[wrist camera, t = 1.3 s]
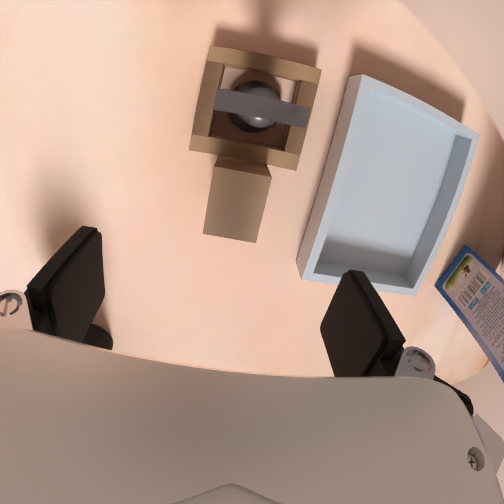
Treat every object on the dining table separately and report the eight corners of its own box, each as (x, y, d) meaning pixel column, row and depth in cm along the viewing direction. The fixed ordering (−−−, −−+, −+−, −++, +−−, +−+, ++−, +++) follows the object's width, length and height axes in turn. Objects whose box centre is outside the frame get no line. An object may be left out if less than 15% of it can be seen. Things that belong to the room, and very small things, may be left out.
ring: (315, 72, 19) (338, 63, 14) (278, 215, 25) (288, 248, 20) (213, 50, 18) (203, 33, 13) (185, 198, 24) (169, 227, 19)
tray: (459, 129, 21) (479, 135, 18) (403, 279, 29) (415, 296, 26) (348, 76, 19) (362, 74, 17) (295, 261, 27) (301, 279, 25)
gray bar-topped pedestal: (286, 88, 20) (317, 78, 11) (274, 136, 22) (297, 159, 13) (231, 77, 19) (224, 57, 11) (221, 125, 21) (206, 141, 12)
